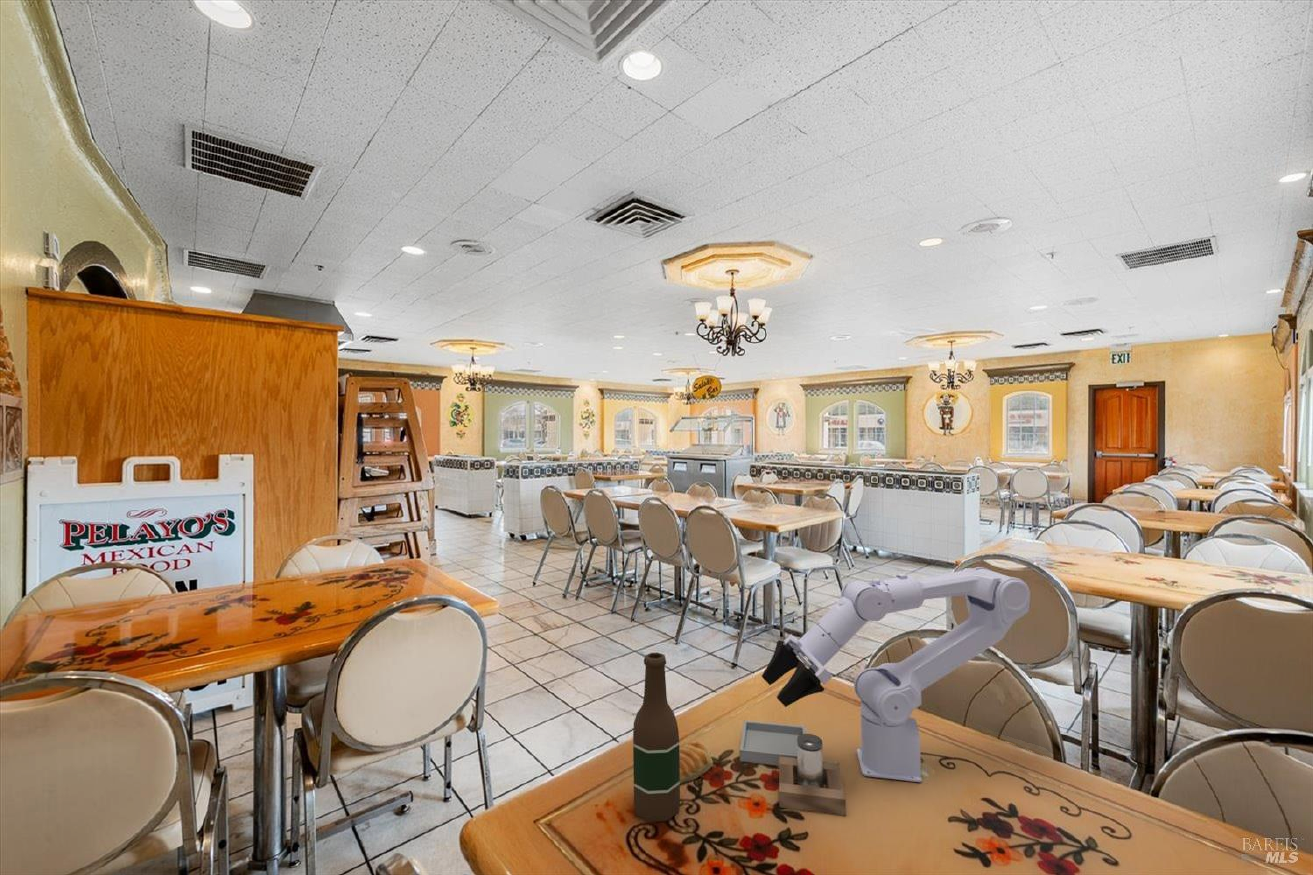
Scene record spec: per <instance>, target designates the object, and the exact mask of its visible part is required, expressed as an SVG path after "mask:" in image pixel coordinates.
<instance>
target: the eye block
mask: <svg viewBox="0 0 1313 875" xmlns="http://www.w3.org/2000/svg"><path fill="white" fill-rule="evenodd" d="M841 772H842V771H841V768H840V762H835V761H825V760H824V761H823V785H824V784H825V785H826V788H825V787H823V788H818V787H810V786H802V785H798V784H794V781H798V761H797V758H790V757H781V756H779V766H778V774H779V775H778V776H779V777H778V778H779V779H778V801H779V802H778V803H779V804H778V805H779V808H783V809H791V810H797V811H798V810H799V811H805V812H806V811H807V812H814V813H818V814H819V813H821V814H828V815H837V816H843V817H846V815H847V814H846V812H847V808H846V807H847V804H846V803H847V802H846V800H847V799H846V794H845V790H844V784H843V779H842V773H841Z"/></svg>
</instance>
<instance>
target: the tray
mask: <svg viewBox="0 0 1313 875" xmlns="http://www.w3.org/2000/svg"><path fill="white" fill-rule="evenodd" d="M801 734H807V730H806V725H805V726H804V725H794V724H784V723H774V722H764V721H757V720H756V721H753V720H743V722H742V731H741V736H740V737H741V739H740V745H739V746H740V747H739V762H744V763H752V764H761V765H771V766H778V767H779V756H781V757H790V758H797V737H798V736H799V735H801Z"/></svg>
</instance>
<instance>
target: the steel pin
mask: <svg viewBox="0 0 1313 875" xmlns="http://www.w3.org/2000/svg"><path fill="white" fill-rule="evenodd" d="M797 761H798V780H797V785H802V786H810V787H818V788H824V783H823V740H822V738H821V737H819V736H818V735H816V734H812V733H806V734H801V735H799V736H798V737H797Z"/></svg>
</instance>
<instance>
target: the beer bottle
mask: <svg viewBox="0 0 1313 875" xmlns="http://www.w3.org/2000/svg"><path fill="white" fill-rule="evenodd" d="M643 664H644V665H645V674H644V692H643V693H644V694H643V700H642V705H641V707H640V708H639V709H638V710H637V713H636V714H635V718H634V721H633V731H632V732H633V733H632V740H633V741H632V744H633V746H632V747H633V748H632V750H633V752H632V753H633V754H632V755H633V757H632V758H633V759H632V760H633V761H632V764H633V767H632V768H633V806H634V808H633V809H634V813H635V815H636V816H638V817H640V819H643V820H645V821H646V822H648V823H658V822H659V823H660V822H668V821H670V820H671V819H672V818H673V817H674V816H675V815H677V814H678V813H679V811H680V809H681V807H680V806H681V804H680V803H681V784H680V753H679V748H680V735H679V734H680V733H679V725H678V720H677V718H676V715H675V712H674V710H673V708H671V706H670V705H669V702H668V699H667V698H668V696H667V694H668V693H667V682H666V668H665V666H666V665H667V659H666V655H665V654H663V653H661V652H649V653H648V654H645V655H644V658H643Z"/></svg>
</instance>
